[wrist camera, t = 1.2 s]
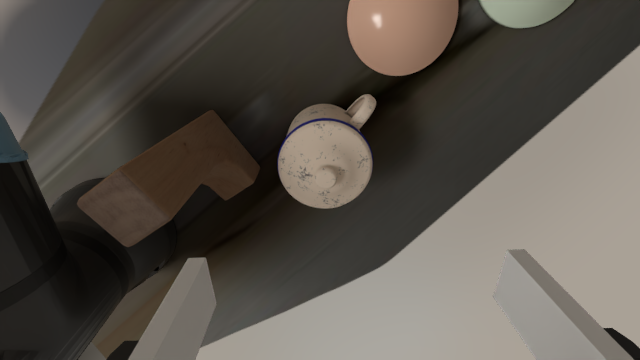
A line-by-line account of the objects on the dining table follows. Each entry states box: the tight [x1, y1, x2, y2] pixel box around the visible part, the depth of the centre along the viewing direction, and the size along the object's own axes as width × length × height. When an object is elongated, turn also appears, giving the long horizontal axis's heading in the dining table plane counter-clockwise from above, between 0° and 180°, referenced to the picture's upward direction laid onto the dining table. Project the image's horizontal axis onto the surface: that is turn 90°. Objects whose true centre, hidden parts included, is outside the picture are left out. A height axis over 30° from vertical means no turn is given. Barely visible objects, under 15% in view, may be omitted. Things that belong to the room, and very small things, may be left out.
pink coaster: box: [347, 0, 458, 76], centre depth 30 cm, size 11×11×1 cm
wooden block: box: [77, 110, 260, 247], centre depth 28 cm, size 9×4×18 cm, turn 34°
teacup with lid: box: [277, 94, 376, 208], centre depth 30 cm, size 12×9×12 cm
